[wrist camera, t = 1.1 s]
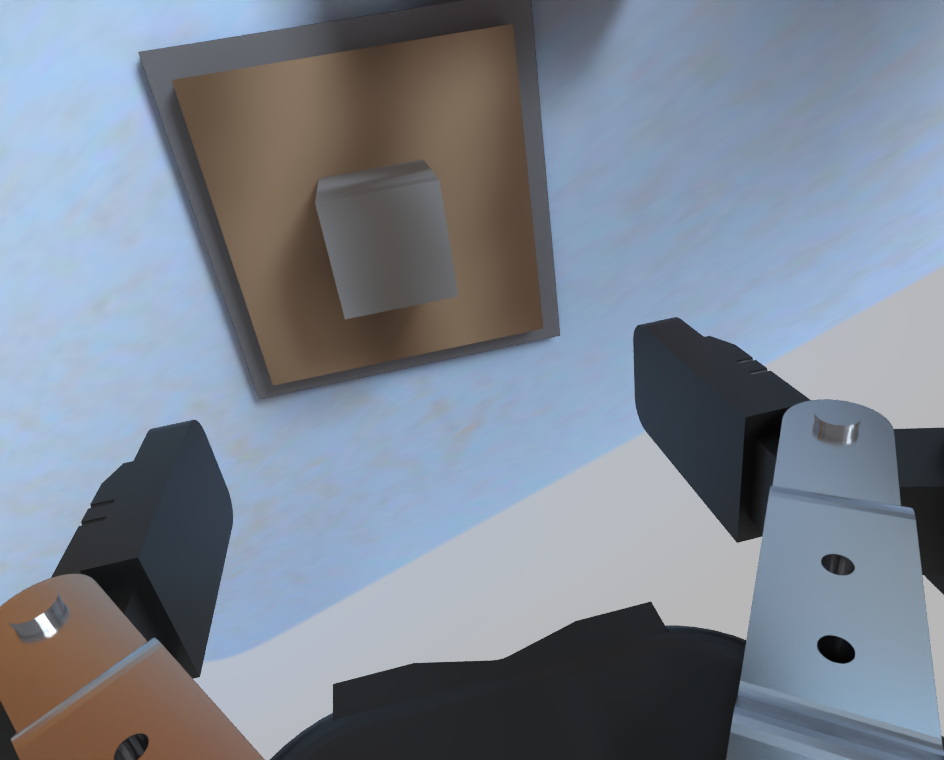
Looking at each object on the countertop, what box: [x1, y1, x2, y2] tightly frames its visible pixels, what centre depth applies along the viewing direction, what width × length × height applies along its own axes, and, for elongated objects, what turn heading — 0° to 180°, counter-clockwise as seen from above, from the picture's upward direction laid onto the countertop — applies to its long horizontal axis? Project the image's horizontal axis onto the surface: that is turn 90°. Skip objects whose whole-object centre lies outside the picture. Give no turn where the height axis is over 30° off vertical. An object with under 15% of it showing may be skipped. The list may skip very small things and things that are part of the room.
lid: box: [172, 24, 543, 385], centre depth 24 cm, size 12×12×6 cm
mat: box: [138, 0, 560, 399], centre depth 27 cm, size 14×14×1 cm
